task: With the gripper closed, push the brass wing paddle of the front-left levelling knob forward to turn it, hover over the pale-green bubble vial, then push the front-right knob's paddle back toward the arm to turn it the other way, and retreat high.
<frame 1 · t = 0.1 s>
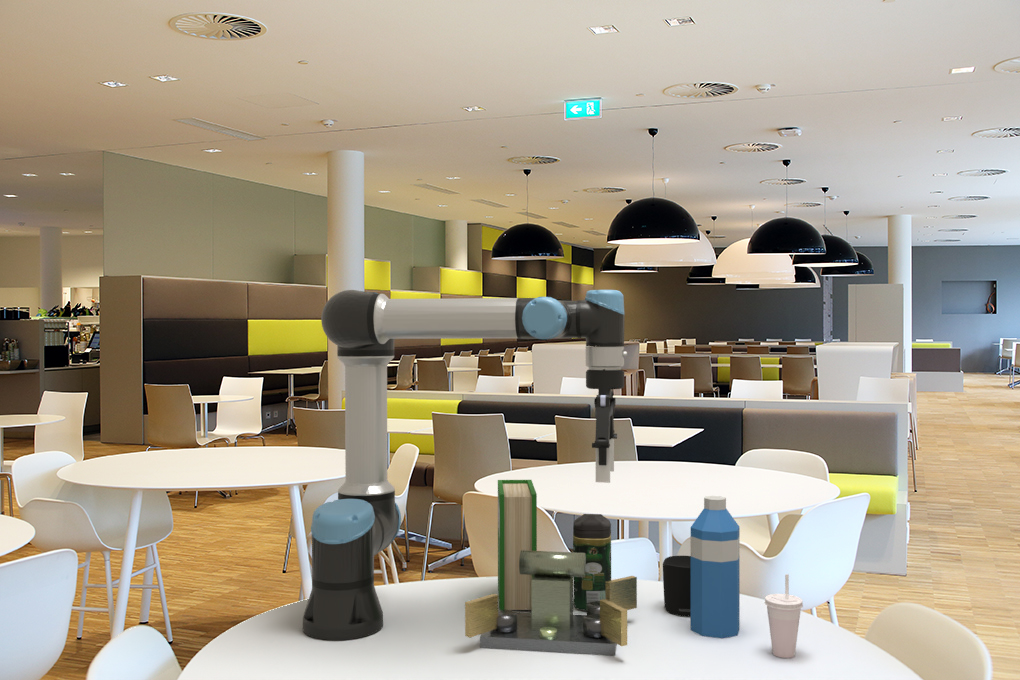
hand: (605, 476, 172), 28 cm above the table, tool pointing down, fingers open, 13 cm apart
smoothie: (783, 655, 153), on the table
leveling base: (551, 637, 162), on the table
water bottle: (715, 630, 166), on the table
knob rear: (612, 598, 167), point 6 cm above the table, hinge at 0.0°
hardback book: (516, 601, 184), on the table
knob right: (606, 619, 154), point 6 cm above the table, hinge at 0.0°
black smart speaker: (686, 611, 177), on the table
coffee jar: (592, 606, 181), on the table
knob left: (490, 613, 158), point 6 cm above the table, hinge at 0.0°
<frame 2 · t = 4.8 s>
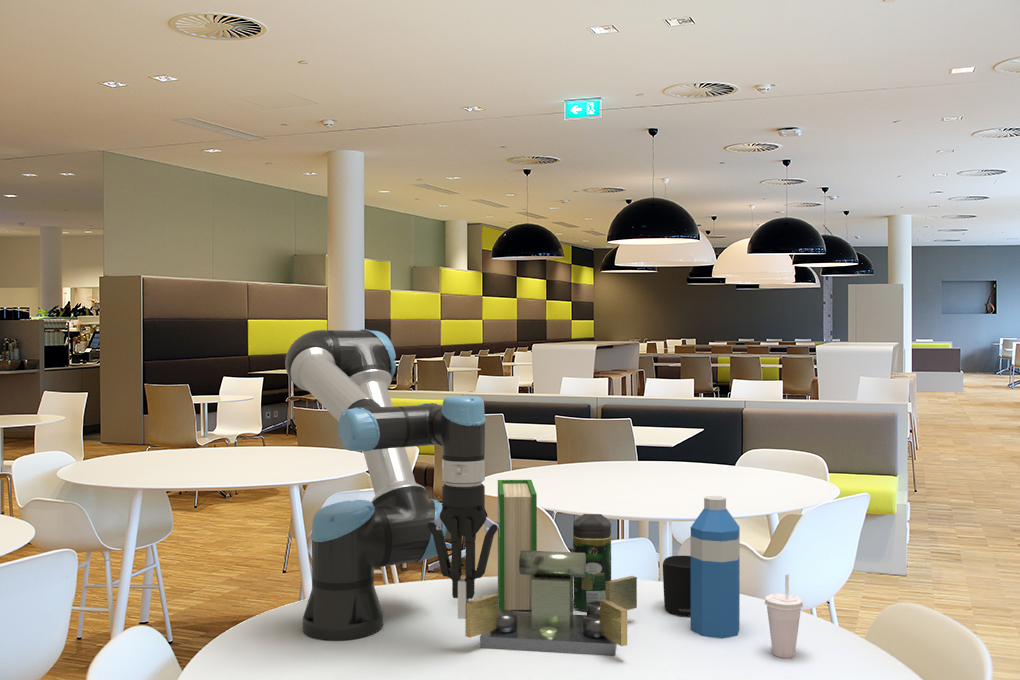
hand: (463, 616, 155), 6 cm above the table, tool pointing down, fingers closed
knob left: (491, 613, 158), point 6 cm above the table, hinge at 0.5°, touching gripper
everything else where it was.
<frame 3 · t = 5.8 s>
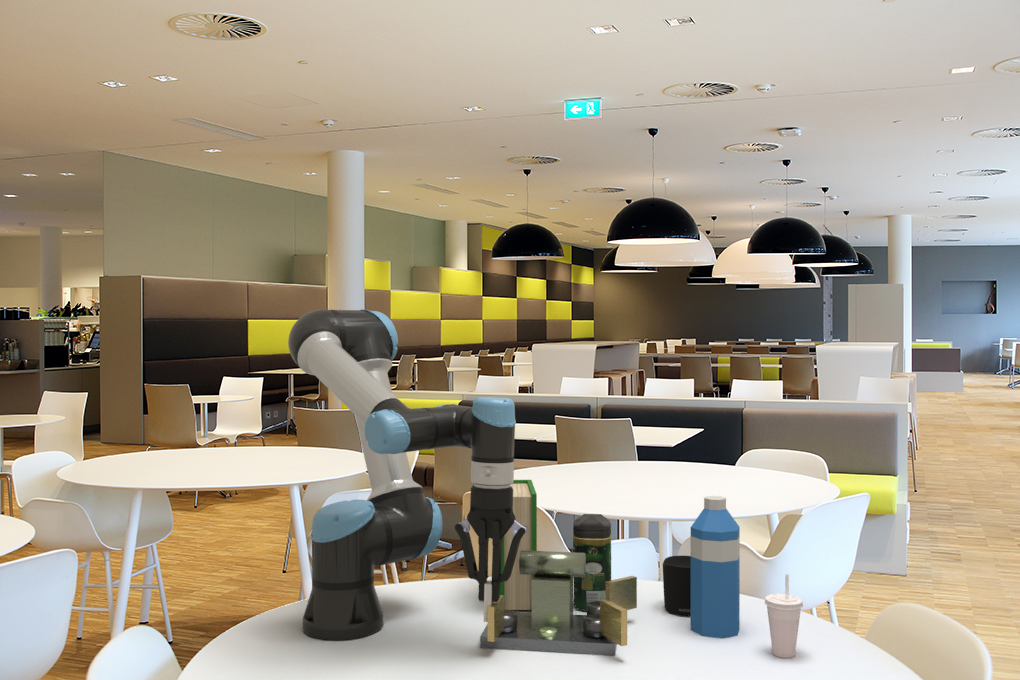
hand: (488, 619, 154), 6 cm above the table, tool pointing down, fingers closed
knob left: (499, 615, 157), point 6 cm above the table, hinge at 30.7°, touching gripper
everything else where it was.
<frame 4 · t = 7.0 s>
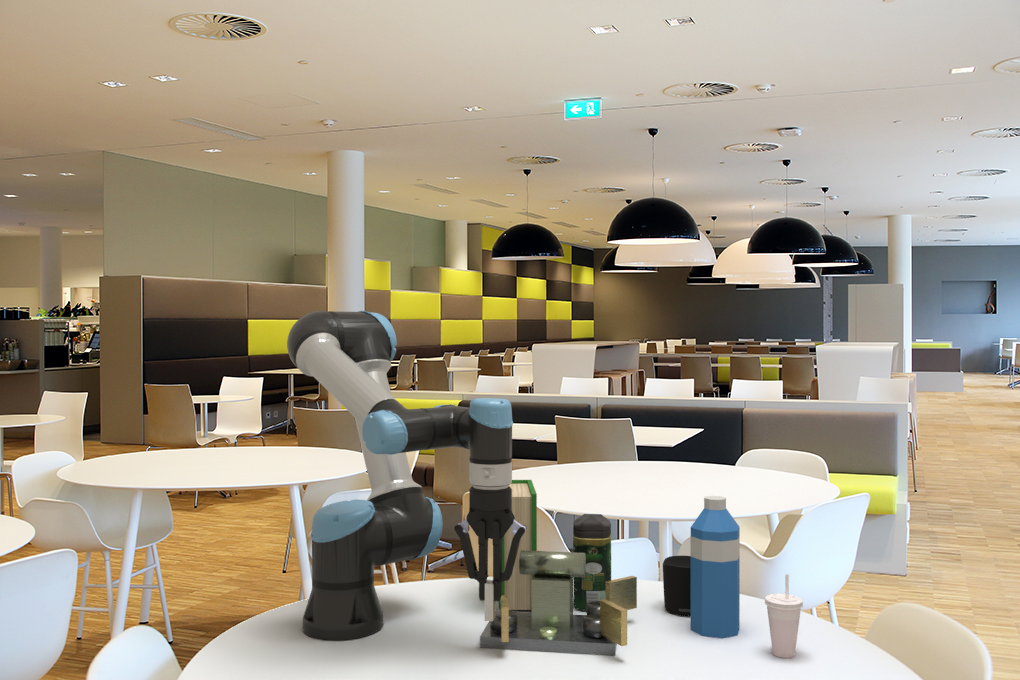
hand: (490, 618, 155), 6 cm above the table, tool pointing down, fingers closed
knob left: (504, 615, 157), point 6 cm above the table, hinge at 46.5°
everything else where it was.
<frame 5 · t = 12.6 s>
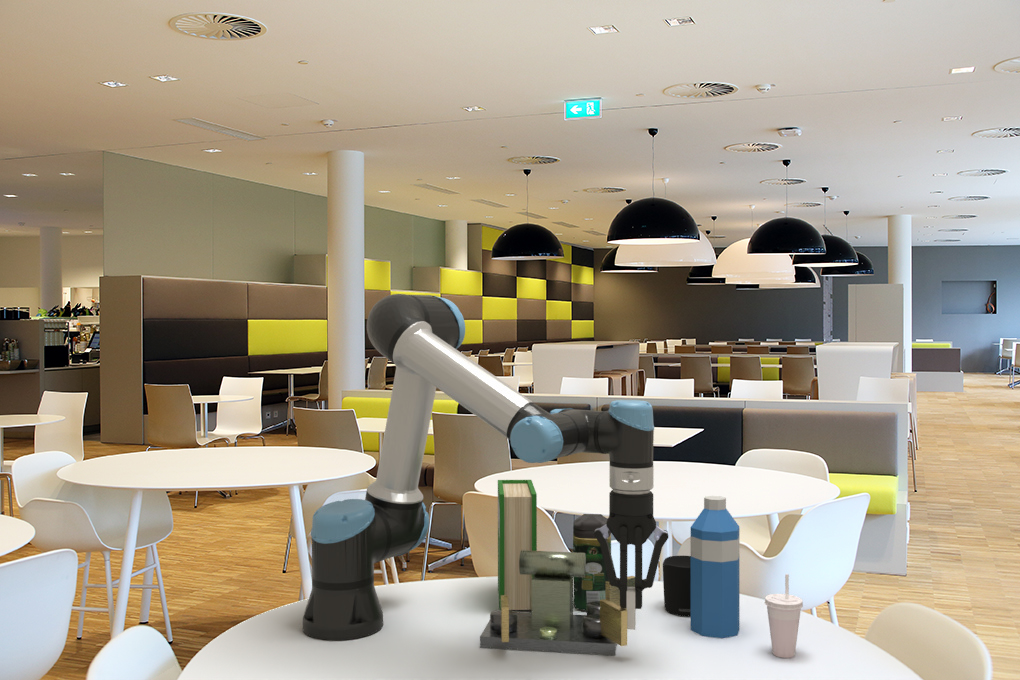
hand: (631, 626, 151), 5 cm above the table, tool pointing down, fingers closed
knob right: (606, 619, 154), point 6 cm above the table, hinge at 0.0°, touching gripper
everything else where it was.
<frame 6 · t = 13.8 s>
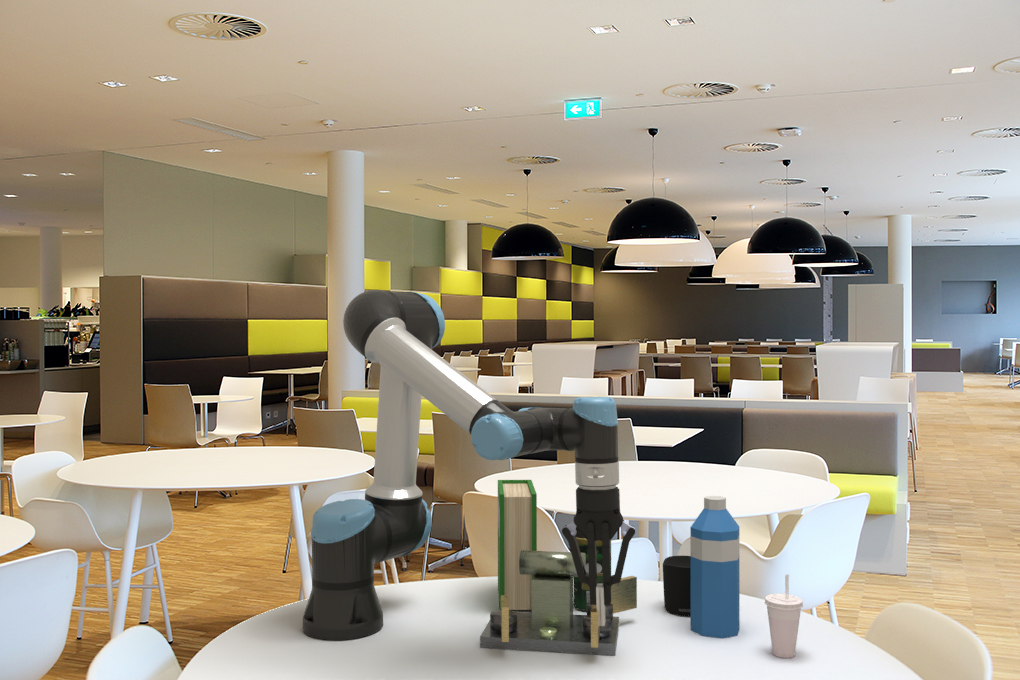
hand: (601, 623, 151), 6 cm above the table, tool pointing down, fingers closed
knob right: (596, 620, 154), point 6 cm above the table, hinge at -33.7°, touching gripper
everything else where it was.
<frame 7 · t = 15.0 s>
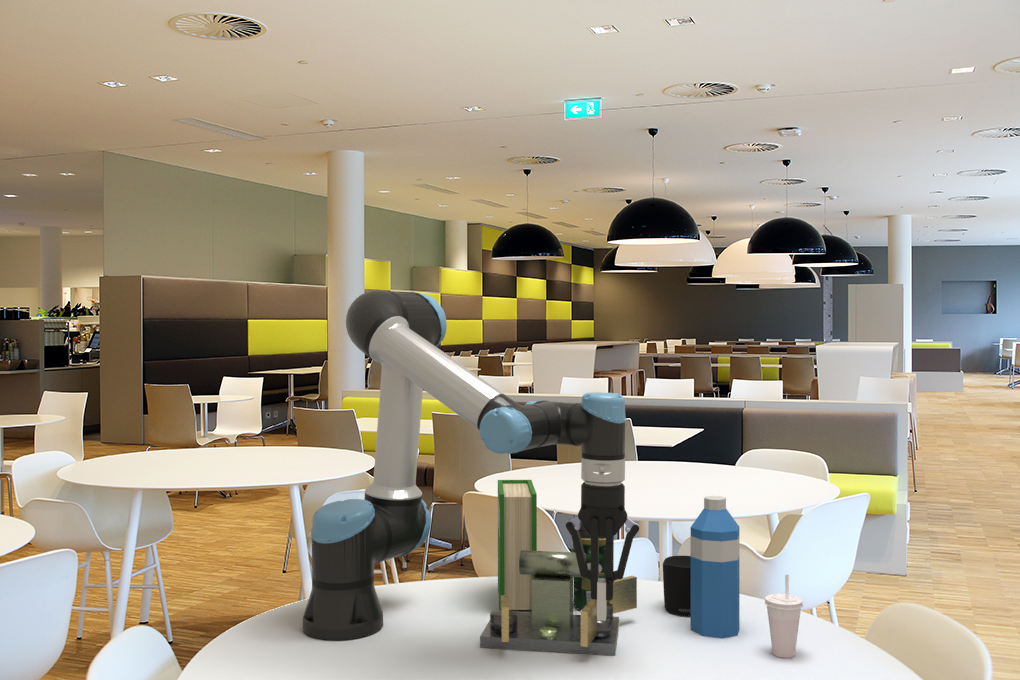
hand: (601, 617, 152), 7 cm above the table, tool pointing down, fingers closed
knob right: (592, 620, 154), point 6 cm above the table, hinge at -45.0°
everything else where it was.
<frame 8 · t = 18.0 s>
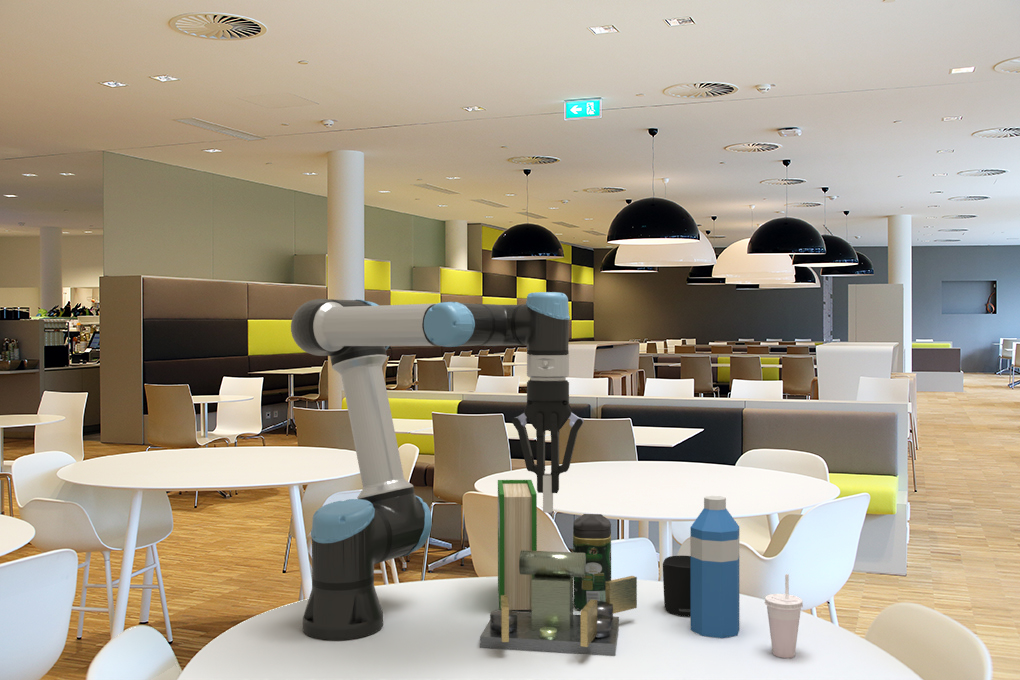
hand: (548, 511, 156), 24 cm above the table, tool pointing down, fingers closed
nothing on the table moved.
at the end: knob left at +47° (first picture: +0°); knob right at -45° (first picture: +0°) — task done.
